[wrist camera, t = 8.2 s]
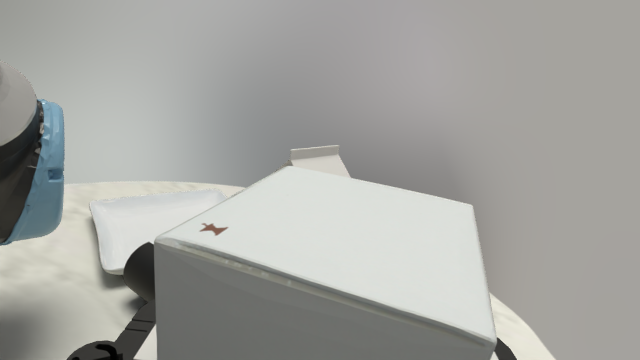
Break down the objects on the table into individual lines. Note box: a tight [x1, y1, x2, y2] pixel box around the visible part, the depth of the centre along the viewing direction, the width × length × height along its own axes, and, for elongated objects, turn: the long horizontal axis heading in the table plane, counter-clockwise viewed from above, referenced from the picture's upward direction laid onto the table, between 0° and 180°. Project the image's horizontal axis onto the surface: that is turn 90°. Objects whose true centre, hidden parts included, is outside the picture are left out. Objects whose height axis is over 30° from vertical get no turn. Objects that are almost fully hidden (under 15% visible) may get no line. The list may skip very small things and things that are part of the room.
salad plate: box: [89, 189, 228, 275], centre depth 55 cm, size 21×21×3 cm
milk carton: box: [272, 145, 350, 178], centre depth 42 cm, size 7×7×19 cm
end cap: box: [123, 242, 155, 302], centre depth 39 cm, size 10×7×7 cm
